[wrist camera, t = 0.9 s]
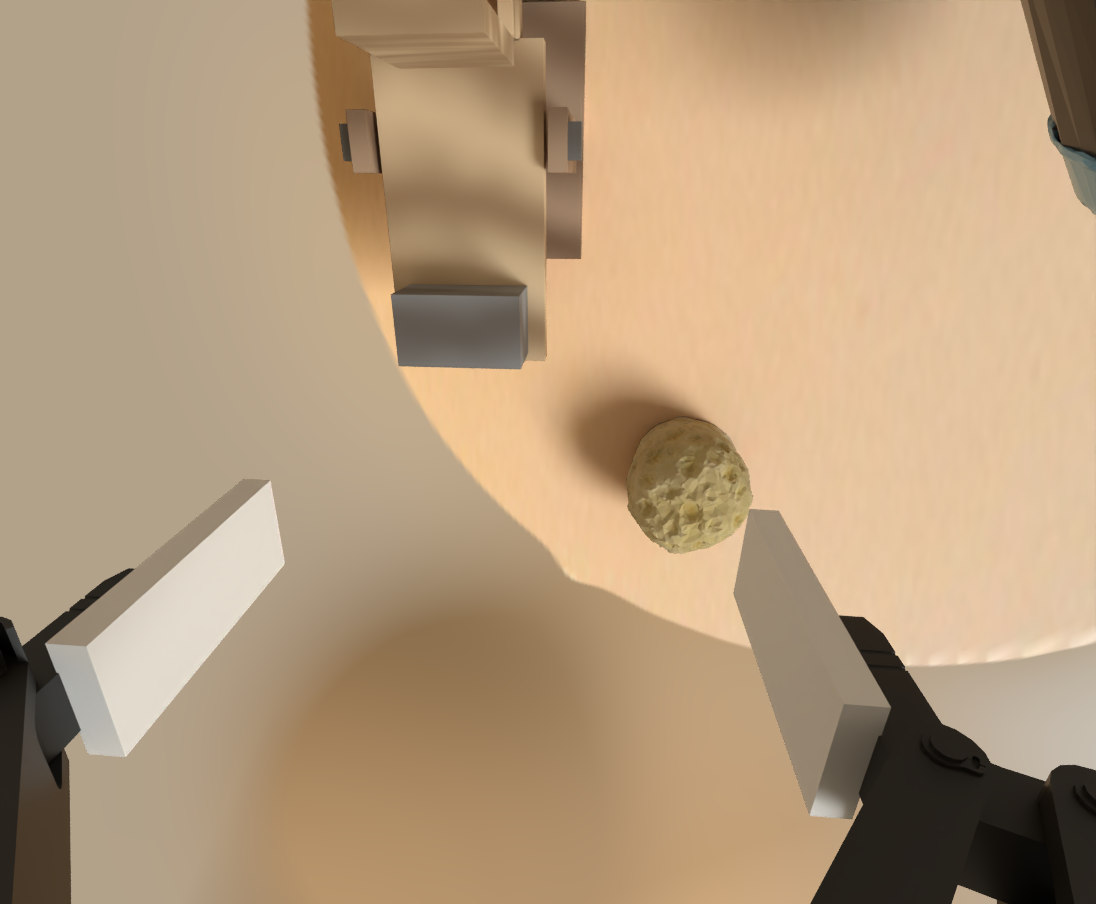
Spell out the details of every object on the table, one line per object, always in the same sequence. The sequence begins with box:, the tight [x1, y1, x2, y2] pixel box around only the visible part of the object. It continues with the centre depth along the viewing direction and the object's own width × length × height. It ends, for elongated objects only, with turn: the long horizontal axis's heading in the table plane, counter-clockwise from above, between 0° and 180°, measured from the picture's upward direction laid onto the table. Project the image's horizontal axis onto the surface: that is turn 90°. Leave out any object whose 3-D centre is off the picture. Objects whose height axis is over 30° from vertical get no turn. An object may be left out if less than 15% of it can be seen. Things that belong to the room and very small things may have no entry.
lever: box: [331, 0, 547, 369], centre depth 30 cm, size 22×9×9 cm, turn 0°
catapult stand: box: [339, 1, 586, 259], centre depth 36 cm, size 15×13×10 cm
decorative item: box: [627, 417, 753, 554], centre depth 47 cm, size 10×10×10 cm
